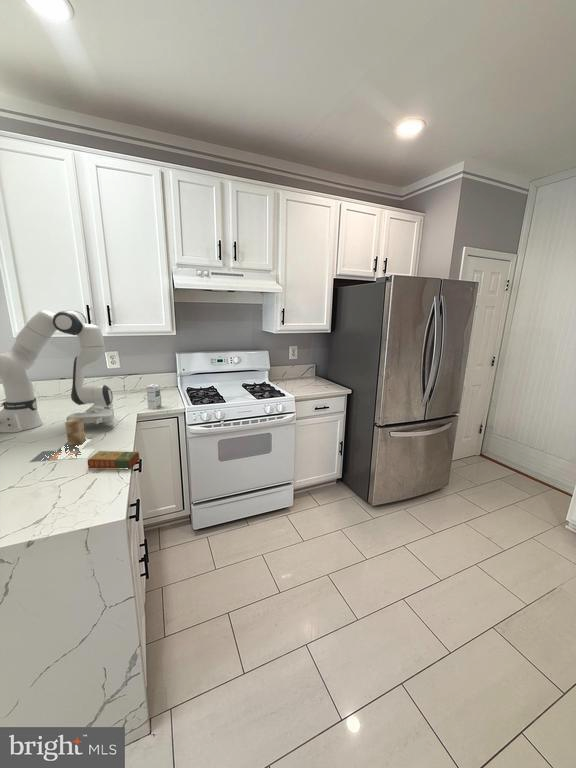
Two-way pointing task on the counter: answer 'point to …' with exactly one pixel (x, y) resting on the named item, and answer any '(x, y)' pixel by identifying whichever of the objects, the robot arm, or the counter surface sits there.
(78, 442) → the oak block
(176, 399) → the counter surface
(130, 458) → the carton
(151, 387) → the syrup box
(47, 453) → the t mat
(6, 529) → the counter surface
